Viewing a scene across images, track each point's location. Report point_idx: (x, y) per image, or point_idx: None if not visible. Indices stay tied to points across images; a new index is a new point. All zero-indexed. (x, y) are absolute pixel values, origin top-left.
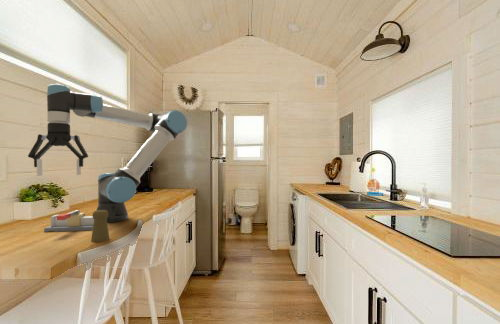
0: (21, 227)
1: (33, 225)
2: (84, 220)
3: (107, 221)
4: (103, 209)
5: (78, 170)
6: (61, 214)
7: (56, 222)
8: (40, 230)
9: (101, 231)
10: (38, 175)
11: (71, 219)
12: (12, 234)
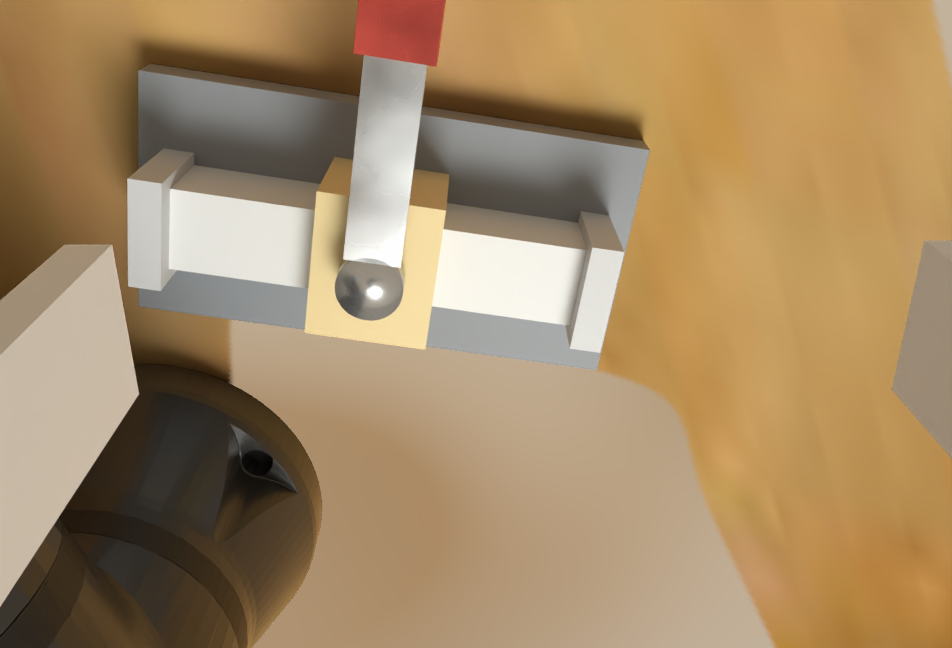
0: (892, 390)
1: (812, 441)
2: (284, 195)
3: (151, 369)
4: (165, 471)
5: (17, 289)
6: (440, 3)
7: (565, 233)
8: (695, 217)
9: None
10: (942, 244)
11: None
12: (897, 124)
